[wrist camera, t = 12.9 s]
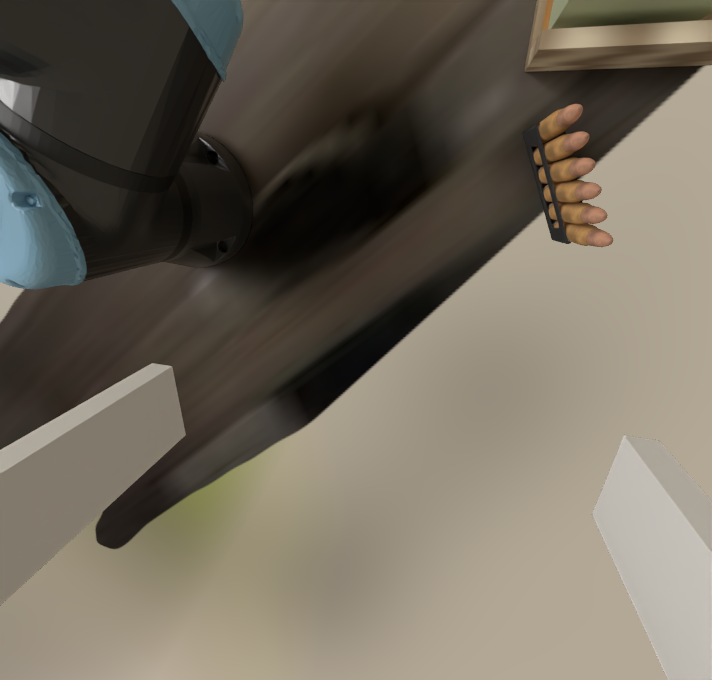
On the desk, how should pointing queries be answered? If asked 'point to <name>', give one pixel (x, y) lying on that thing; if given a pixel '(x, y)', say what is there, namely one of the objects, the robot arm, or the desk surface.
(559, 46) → the bay
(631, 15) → the green panel with handle
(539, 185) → the ammunition clip
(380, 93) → the desk surface
